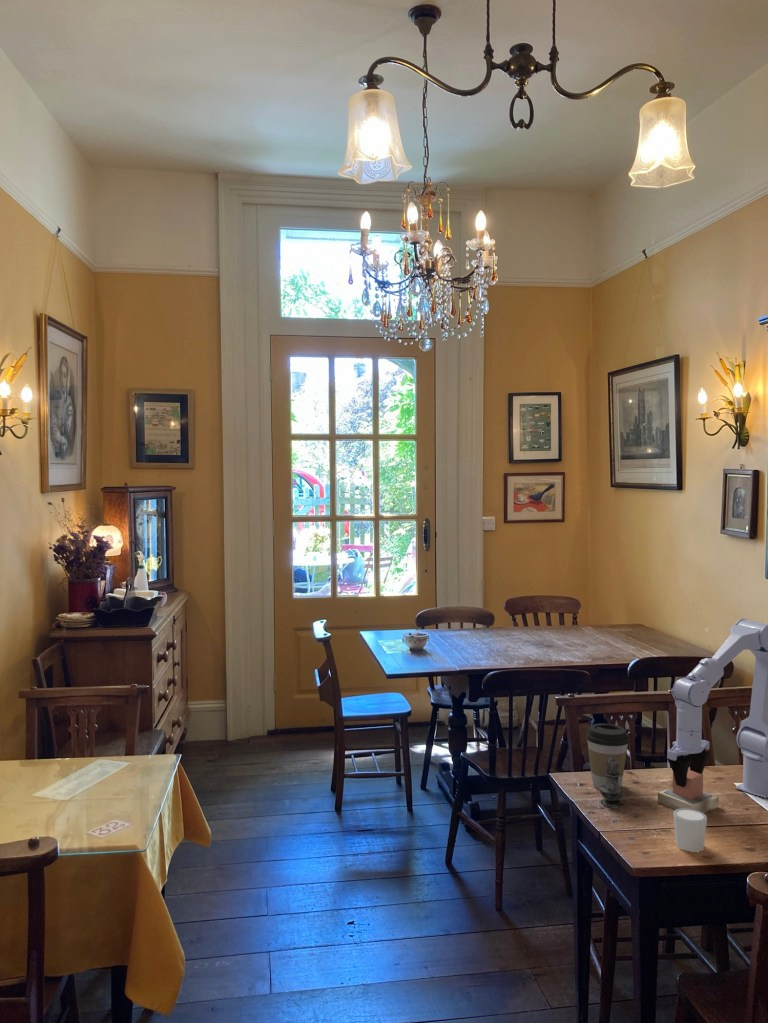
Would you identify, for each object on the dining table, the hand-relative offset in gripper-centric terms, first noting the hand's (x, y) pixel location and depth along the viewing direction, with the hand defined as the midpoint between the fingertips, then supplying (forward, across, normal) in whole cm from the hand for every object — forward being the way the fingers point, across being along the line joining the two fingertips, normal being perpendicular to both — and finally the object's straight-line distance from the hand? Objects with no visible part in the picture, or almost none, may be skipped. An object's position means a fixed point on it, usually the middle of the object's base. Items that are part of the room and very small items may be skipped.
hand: (688, 783), depth 183 cm
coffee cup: (+6, +7, -19) cm, 21 cm away
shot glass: (+6, +19, +13) cm, 24 cm away
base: (+5, 0, 0) cm, 5 cm away
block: (+3, 0, 0) cm, 3 cm away
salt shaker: (+6, +15, -11) cm, 19 cm away
